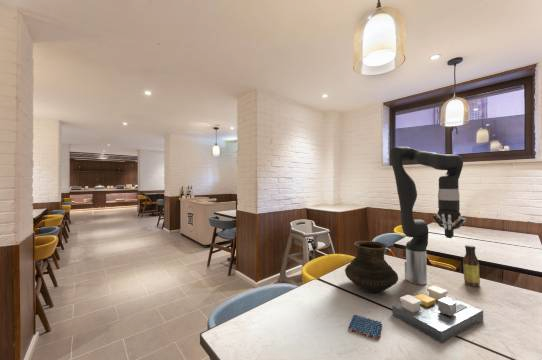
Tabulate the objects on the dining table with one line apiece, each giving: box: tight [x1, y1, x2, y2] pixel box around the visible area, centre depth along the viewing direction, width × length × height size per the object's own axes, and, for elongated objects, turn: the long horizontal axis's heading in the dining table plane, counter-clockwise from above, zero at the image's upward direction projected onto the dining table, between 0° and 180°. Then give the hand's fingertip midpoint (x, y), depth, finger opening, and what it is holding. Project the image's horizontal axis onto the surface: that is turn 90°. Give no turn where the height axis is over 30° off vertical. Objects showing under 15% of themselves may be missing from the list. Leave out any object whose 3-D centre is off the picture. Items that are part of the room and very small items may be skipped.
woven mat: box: [347, 314, 383, 341], centre depth 84 cm, size 10×11×2 cm
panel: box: [391, 291, 484, 344], centre depth 90 cm, size 18×28×4 cm, turn 116°
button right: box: [426, 285, 449, 300], centre depth 98 cm, size 5×5×6 cm
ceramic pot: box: [344, 240, 399, 294], centre depth 114 cm, size 24×24×22 cm
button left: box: [399, 294, 422, 313], centre depth 90 cm, size 5×5×6 cm
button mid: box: [413, 293, 436, 307], centre depth 94 cm, size 5×5×6 cm
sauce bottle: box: [462, 244, 481, 287], centre depth 119 cm, size 7×6×20 cm
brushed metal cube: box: [438, 298, 456, 316], centre depth 86 cm, size 4×4×4 cm
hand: (449, 237), depth 101 cm, fingers closed
